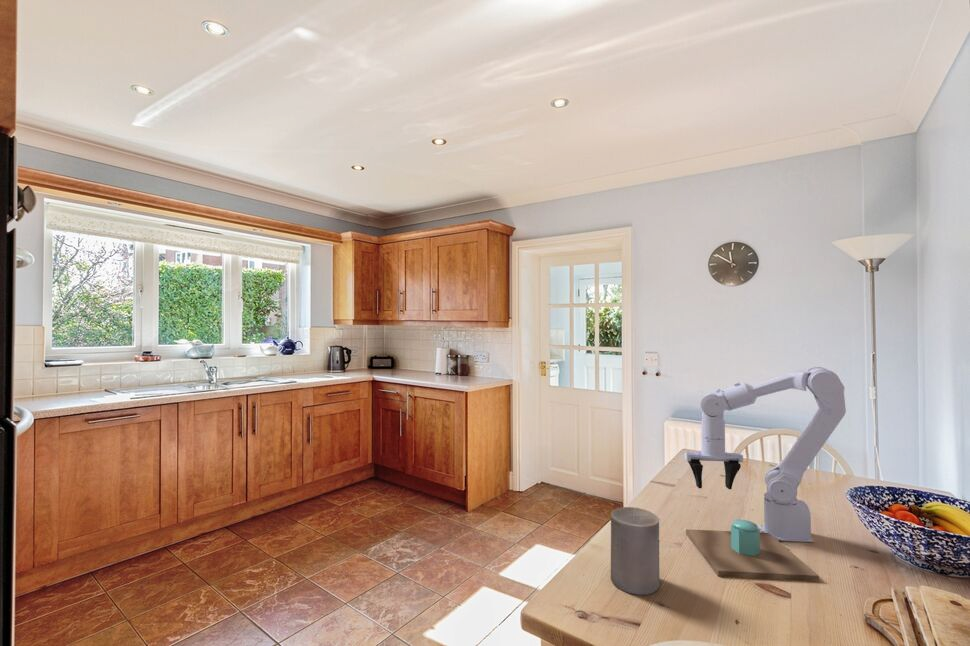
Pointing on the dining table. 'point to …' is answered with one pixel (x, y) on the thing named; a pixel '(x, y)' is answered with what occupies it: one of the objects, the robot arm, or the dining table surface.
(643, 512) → the pillar candle
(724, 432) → the robot arm
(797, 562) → the brown flat square slab
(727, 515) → the dining table surface
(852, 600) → the dining table surface
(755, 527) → the cap
